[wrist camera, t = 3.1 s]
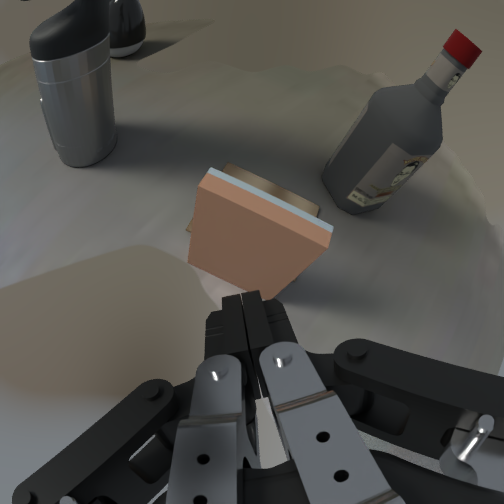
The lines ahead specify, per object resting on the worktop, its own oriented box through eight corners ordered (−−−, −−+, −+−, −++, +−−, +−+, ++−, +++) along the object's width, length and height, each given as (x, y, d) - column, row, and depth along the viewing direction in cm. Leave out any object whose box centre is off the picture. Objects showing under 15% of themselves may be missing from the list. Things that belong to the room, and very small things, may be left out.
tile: (187, 262, 32) (198, 185, 20) (195, 248, 33) (210, 167, 21) (269, 301, 32) (328, 248, 20) (274, 285, 33) (333, 226, 21)
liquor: (313, 169, 43) (419, 3, 16) (355, 164, 46) (456, 29, 20) (342, 220, 40) (486, 55, 14) (382, 209, 43) (509, 78, 17)
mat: (185, 230, 33) (186, 229, 33) (227, 163, 39) (227, 162, 39) (294, 281, 34) (295, 280, 34) (318, 207, 40) (319, 206, 40)
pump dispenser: (119, 40, 49) (122, -14, 35) (154, 47, 49) (160, -12, 36) (89, 58, 44) (87, -1, 31) (124, 66, 44) (125, 0, 31)
